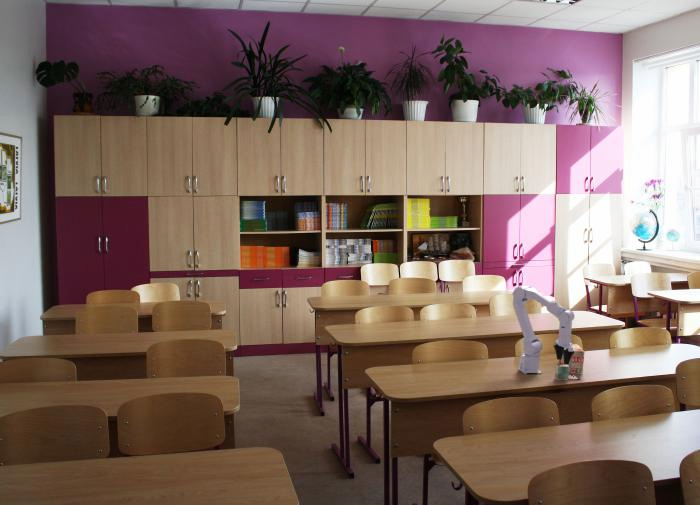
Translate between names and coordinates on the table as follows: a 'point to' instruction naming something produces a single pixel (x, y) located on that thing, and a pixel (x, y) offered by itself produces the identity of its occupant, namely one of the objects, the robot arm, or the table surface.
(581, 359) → the beige printed box
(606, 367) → the table surface
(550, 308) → the robot arm
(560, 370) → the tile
